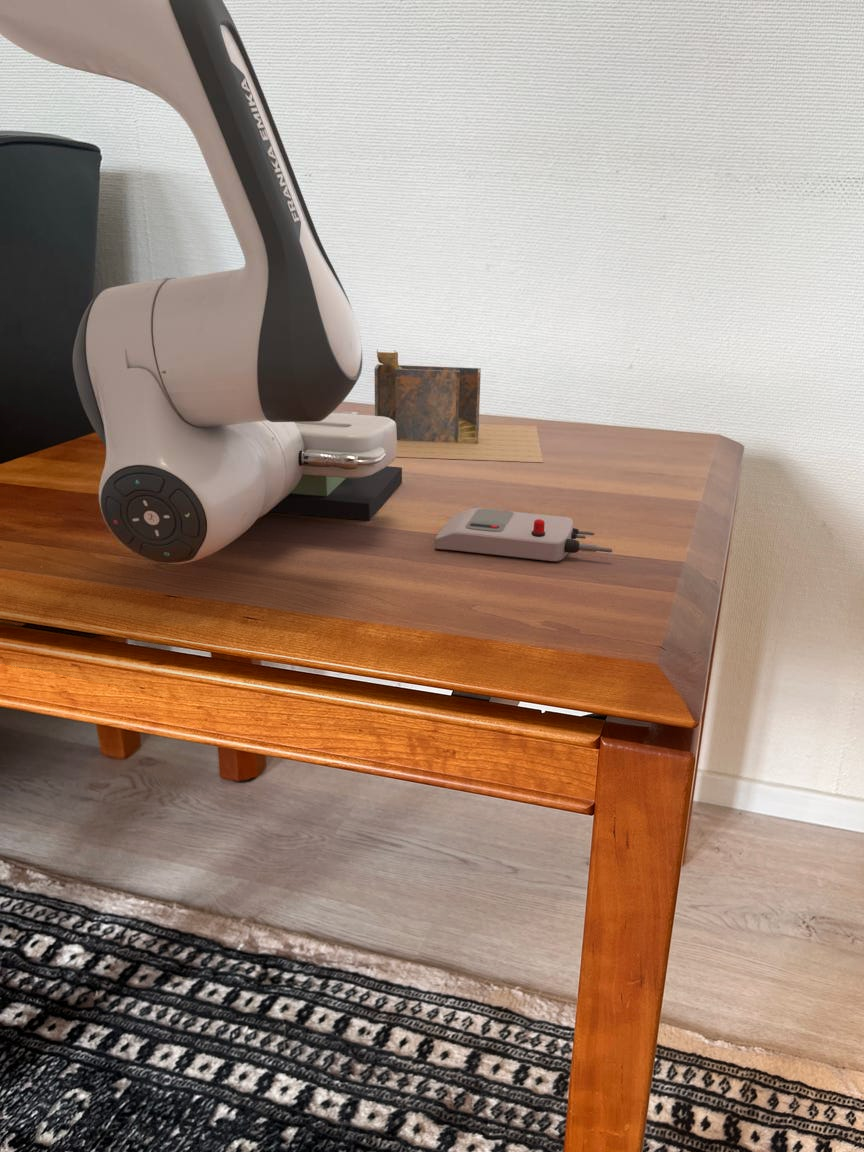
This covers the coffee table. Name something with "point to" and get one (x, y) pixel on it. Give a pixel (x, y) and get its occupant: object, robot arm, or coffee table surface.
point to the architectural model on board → (445, 415)
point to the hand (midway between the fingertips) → (301, 416)
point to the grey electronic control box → (513, 535)
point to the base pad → (341, 495)
